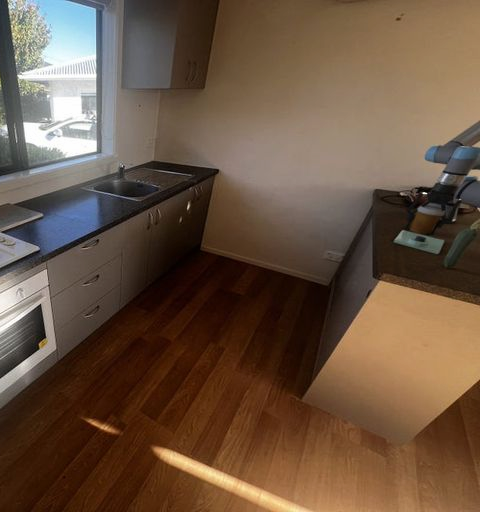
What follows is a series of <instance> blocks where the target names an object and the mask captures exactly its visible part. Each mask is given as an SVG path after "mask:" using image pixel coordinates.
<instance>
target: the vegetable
mask: <svg viewBox="0 0 480 512" xmlns="http://www.w3.org/2000/svg"><path fill="white" fill-rule="evenodd" d="M478 229H480V217H479V218H478V219H477V220H475V222H474V223H473V224H471V226H470V227H467V228H464V229H462V230H461V231H460V232H459V233H457V236H456V237H455V239H454V240H453V242H452V245H451V247H450V248H449V250H448V251H447V254H446V255H445V258H444V261H443V265H444V267H445V268H448V269H452V268H453V267H455V266H456V265H458V264H459V262H460V261H461V259H462V257H463V256H464V253H465V252H466V250H467V249H468V248H469V247H470V246H471V245H472V244H473V243H474V242H475V241H476V240H477V238H478V237H479V230H478Z"/></svg>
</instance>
